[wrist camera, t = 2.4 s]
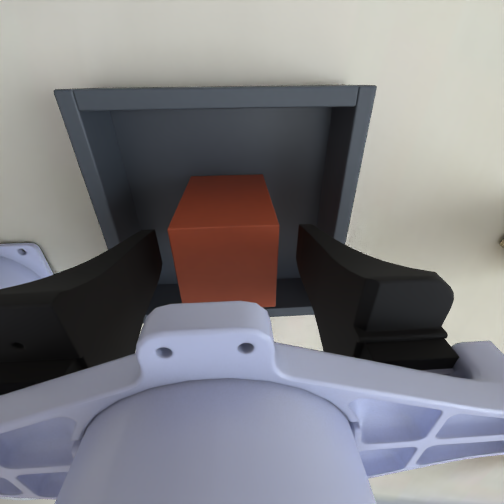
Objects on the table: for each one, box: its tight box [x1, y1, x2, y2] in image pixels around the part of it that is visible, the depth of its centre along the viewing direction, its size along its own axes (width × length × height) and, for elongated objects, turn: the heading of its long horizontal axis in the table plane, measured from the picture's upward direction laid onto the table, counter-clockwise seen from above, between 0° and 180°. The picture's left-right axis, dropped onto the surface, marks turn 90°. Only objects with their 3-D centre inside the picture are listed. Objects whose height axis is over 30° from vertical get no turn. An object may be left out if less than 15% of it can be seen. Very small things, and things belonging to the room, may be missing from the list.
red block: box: [167, 174, 279, 307], centre depth 15 cm, size 4×4×7 cm
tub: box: [54, 85, 376, 323], centre depth 16 cm, size 14×14×4 cm
